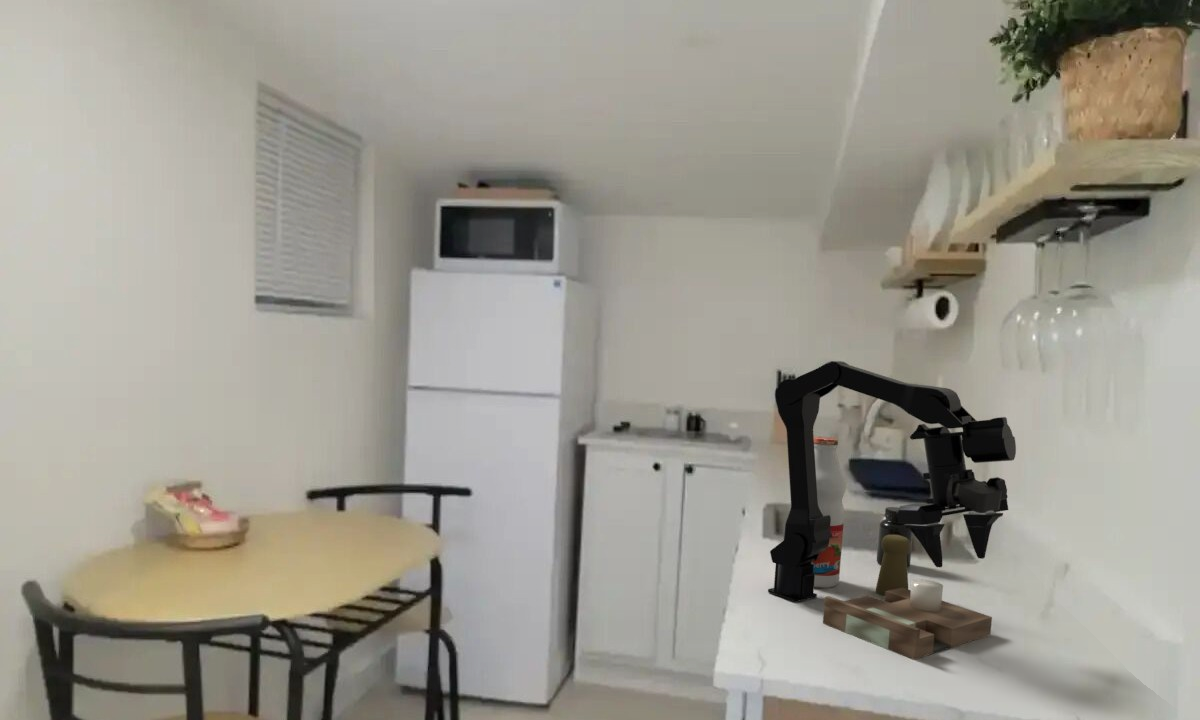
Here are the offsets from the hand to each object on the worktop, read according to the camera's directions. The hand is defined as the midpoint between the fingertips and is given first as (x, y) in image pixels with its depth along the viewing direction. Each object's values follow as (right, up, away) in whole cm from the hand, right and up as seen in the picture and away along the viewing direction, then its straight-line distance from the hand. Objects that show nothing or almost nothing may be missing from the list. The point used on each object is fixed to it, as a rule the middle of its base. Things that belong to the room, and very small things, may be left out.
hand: (960, 562), depth 138 cm
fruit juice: (-16, -11, +29) cm, 35 cm away
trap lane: (-7, -12, +5) cm, 15 cm away
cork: (-3, -12, +25) cm, 27 cm away
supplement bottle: (+4, -11, +45) cm, 47 cm away
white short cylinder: (-3, -9, +8) cm, 13 cm away
